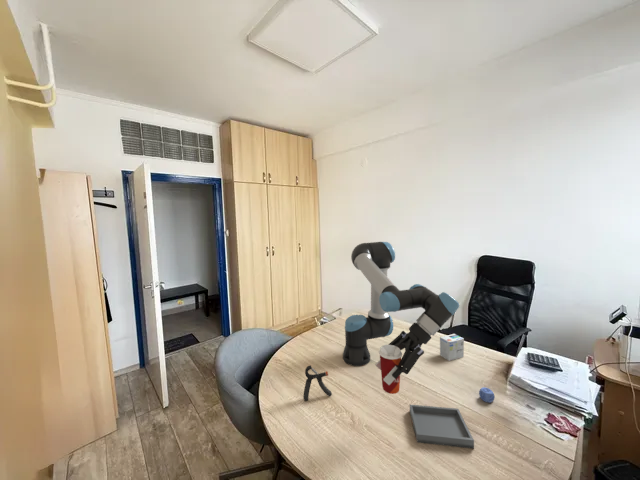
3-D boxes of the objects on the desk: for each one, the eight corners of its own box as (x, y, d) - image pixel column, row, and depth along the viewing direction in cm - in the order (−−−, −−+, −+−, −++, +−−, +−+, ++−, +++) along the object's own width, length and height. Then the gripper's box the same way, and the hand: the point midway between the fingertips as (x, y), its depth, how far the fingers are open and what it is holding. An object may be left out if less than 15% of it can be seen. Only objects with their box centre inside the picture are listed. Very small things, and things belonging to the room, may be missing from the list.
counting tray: (417, 442, 86) (417, 434, 86) (409, 411, 100) (409, 404, 100) (473, 448, 83) (474, 440, 83) (458, 415, 97) (458, 408, 97)
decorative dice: (494, 401, 104) (494, 392, 104) (487, 403, 103) (487, 394, 102) (485, 395, 108) (485, 386, 107) (478, 397, 107) (478, 388, 106)
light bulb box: (454, 351, 143) (454, 333, 142) (464, 357, 137) (464, 338, 136) (439, 355, 140) (439, 336, 139) (448, 361, 133) (449, 342, 132)
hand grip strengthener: (332, 397, 109) (331, 365, 108) (303, 402, 107) (302, 368, 106) (331, 394, 112) (330, 362, 110) (303, 398, 110) (301, 365, 108)
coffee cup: (403, 397, 87) (403, 356, 86) (379, 394, 89) (378, 354, 88) (401, 381, 96) (400, 344, 94) (379, 380, 97) (378, 343, 96)
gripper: (447, 350, 82) (400, 401, 82) (416, 323, 103) (379, 364, 102) (432, 335, 81) (384, 387, 81) (404, 311, 102) (366, 352, 102)
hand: (381, 374), depth 92 cm, fingers closed on coffee cup, 8 cm apart
